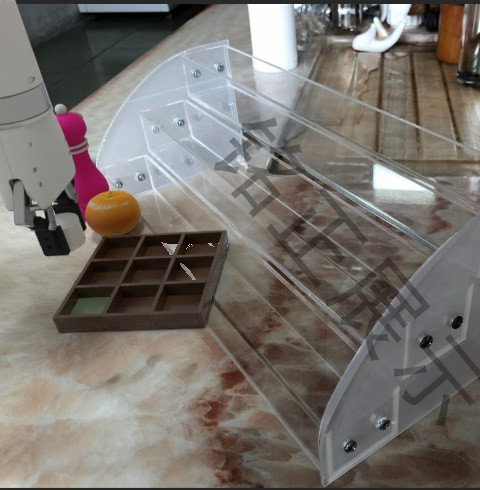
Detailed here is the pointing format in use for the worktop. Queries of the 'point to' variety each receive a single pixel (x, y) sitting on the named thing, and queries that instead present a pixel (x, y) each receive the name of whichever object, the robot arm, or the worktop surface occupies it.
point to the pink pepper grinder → (81, 158)
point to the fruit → (112, 213)
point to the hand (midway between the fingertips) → (66, 241)
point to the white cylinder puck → (71, 229)
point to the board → (145, 283)
